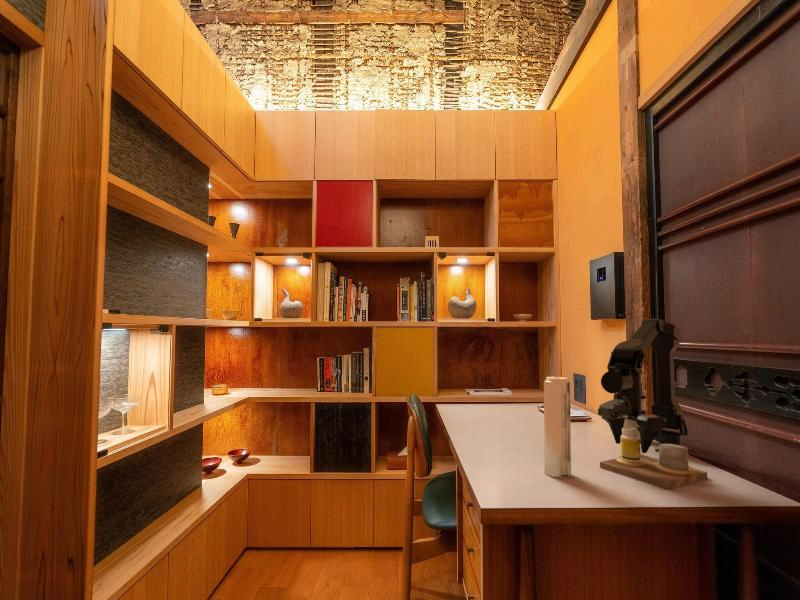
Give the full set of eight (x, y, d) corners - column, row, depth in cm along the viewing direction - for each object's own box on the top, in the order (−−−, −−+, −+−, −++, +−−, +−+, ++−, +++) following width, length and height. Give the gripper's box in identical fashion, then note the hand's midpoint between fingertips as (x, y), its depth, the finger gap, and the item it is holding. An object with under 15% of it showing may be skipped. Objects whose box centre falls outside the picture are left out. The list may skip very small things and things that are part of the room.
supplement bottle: (643, 463, 112) (642, 431, 113) (624, 461, 113) (623, 430, 114) (637, 458, 117) (636, 427, 118) (618, 456, 118) (618, 426, 119)
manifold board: (638, 458, 124) (638, 433, 125) (707, 478, 109) (706, 449, 109) (599, 467, 115) (599, 440, 116) (668, 489, 100) (667, 458, 100)
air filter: (570, 471, 111) (569, 376, 113) (571, 479, 105) (570, 379, 107) (544, 468, 114) (543, 375, 115) (544, 476, 107) (543, 377, 109)
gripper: (581, 386, 124) (582, 440, 122) (631, 396, 105) (632, 460, 104) (613, 385, 126) (614, 438, 125) (667, 395, 108) (669, 457, 107)
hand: (630, 448), depth 115 cm, fingers open, 9 cm apart
